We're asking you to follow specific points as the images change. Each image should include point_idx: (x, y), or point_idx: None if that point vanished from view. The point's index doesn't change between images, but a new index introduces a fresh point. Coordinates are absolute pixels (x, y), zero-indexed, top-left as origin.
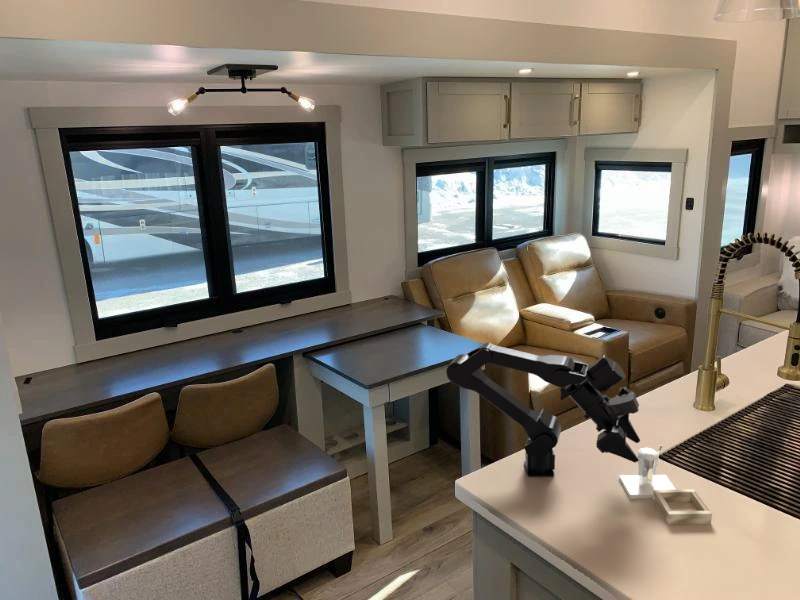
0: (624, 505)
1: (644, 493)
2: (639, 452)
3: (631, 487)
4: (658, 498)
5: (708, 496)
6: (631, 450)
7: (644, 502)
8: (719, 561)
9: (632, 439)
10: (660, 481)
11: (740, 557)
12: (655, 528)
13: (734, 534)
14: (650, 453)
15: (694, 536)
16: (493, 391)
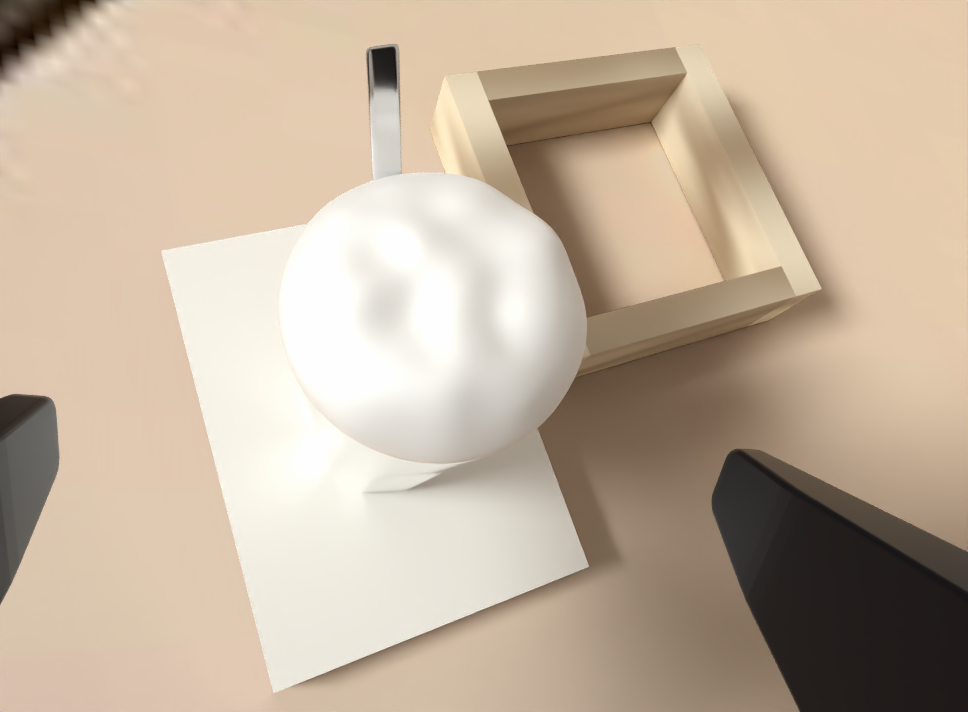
0: (679, 610)
1: (526, 447)
2: (490, 427)
3: (470, 558)
4: (652, 339)
5: (370, 36)
6: (943, 554)
7: (584, 455)
8: (935, 132)
9: (17, 551)
10: None
11: (864, 44)
12: (839, 398)
13: (708, 16)
14: (544, 260)
15: (810, 199)
16: None
